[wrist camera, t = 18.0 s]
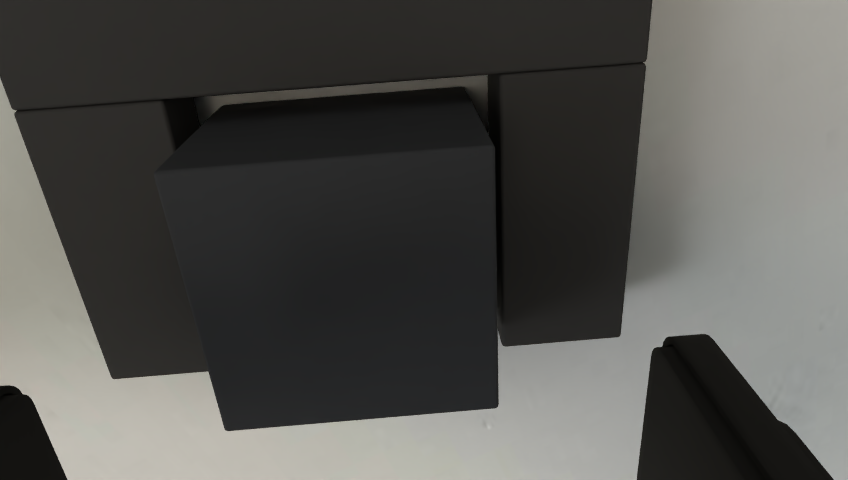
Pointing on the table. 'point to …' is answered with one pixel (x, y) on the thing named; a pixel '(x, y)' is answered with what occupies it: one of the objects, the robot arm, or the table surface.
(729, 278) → the table surface
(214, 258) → the black cube block
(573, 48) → the base pad
